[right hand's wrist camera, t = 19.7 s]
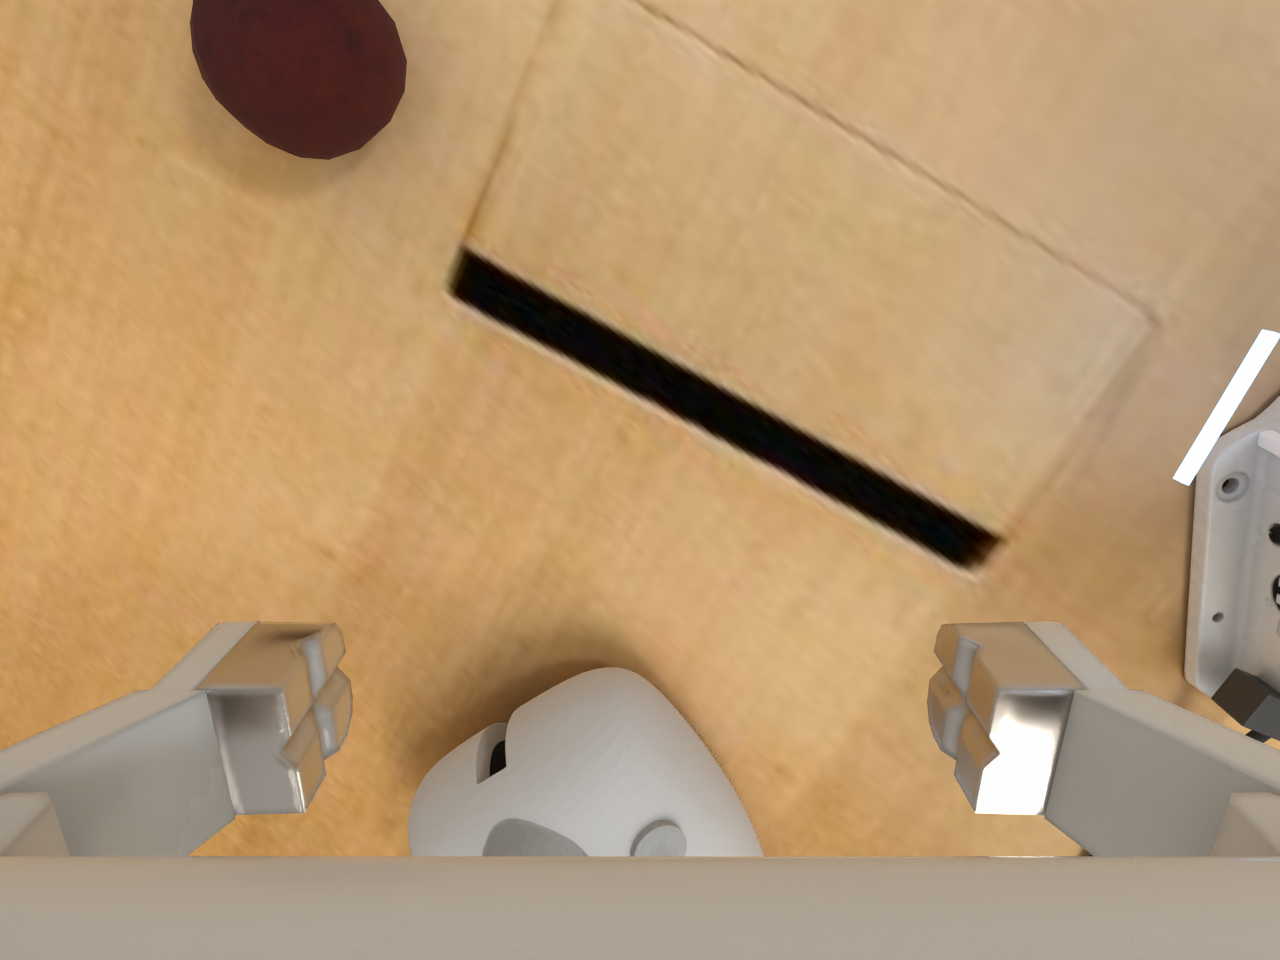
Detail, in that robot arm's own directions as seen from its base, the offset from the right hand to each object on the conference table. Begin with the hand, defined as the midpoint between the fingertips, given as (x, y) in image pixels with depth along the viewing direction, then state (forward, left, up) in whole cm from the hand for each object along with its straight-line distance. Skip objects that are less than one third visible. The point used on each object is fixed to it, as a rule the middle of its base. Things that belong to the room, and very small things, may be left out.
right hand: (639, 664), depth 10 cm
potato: (+11, +13, -29) cm, 34 cm away
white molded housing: (-30, +1, -29) cm, 41 cm away
